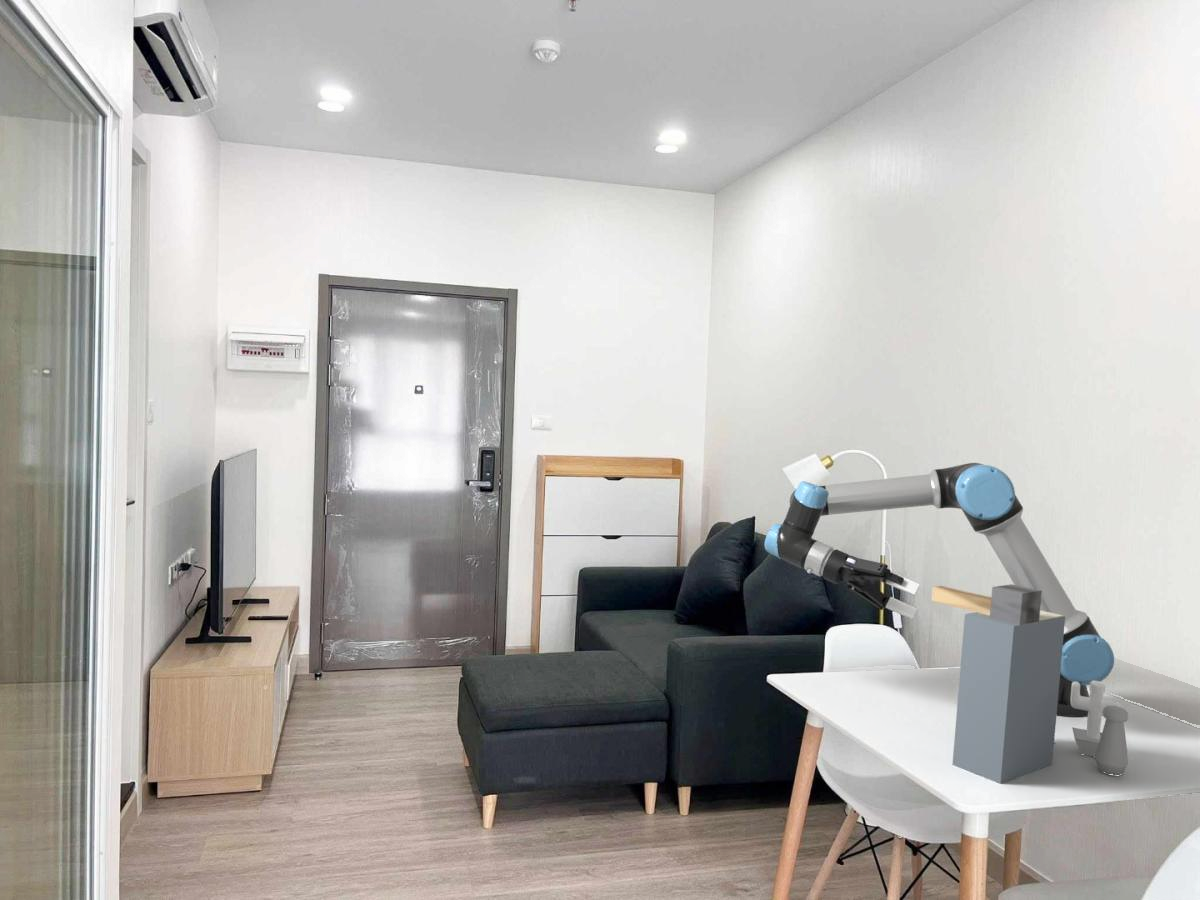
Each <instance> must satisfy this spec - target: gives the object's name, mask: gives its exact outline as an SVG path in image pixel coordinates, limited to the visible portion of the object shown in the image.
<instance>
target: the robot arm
mask: <svg viewBox="0 0 1200 900" xmlns="http://www.w3.org/2000/svg"><path fill="white" fill-rule="evenodd" d="M928 506H934V507H935V508H936V509H959V510H961V511H962V512H963V514H964V516H965V517H966V519H967V521H968V522H969V524H970V526H971V527H972V529H973V531H974V533H978V534H981V535H984V536H985V538H986V540H987V541H988V542H989V544H990V546H991V548H992V549H993V552H994V553H995V554H996V556H997V558H998V560H999V561H1000V562H1001V565H1002V567H1003V568H1004V569H1005V571H1006V573H1007V575H1008V576H1009V578H1010V579H1011V581H1012V583H1013V585H1018V586H1022V587H1027V588H1032V589H1037V590H1041V591H1042V594H1041V605H1040V610H1041V611H1045V612H1050V613H1054V614H1059V615H1063V616H1065V625H1064V637H1063V648H1062V659H1061V670H1060V681H1059V693H1058V704H1057V715H1058V716H1063V717H1085V715H1086V716H1088V711H1086V710H1081V709H1075V708H1073V707H1072V706H1071V702H1070V698H1071V686H1072V683H1073V682H1079V683H1080V696H1084V697H1089V696H1090V693H1089V691H1088V687H1087V686H1090V682H1092V681H1100V682H1102V681H1104V680H1105V679H1106V678H1107V677H1108V676H1109V675H1110V674H1111V672H1112V670H1113V668H1114V665H1115V655H1114V652H1113V649H1112V647H1111V645H1110V644H1109V642H1107V641H1106V640H1105V638H1103V637H1101V636H1100V633H1099V632H1098V631H1097V629H1096V627H1095V626H1094V624H1093V622H1092V620H1091V619H1090V617H1089V615H1088V614H1087V613H1086V612H1085V611H1081V610H1079V609H1076V608H1075V606H1074V605H1073V603H1072V601H1071V600H1070V597H1069V596H1068V595H1067V593H1066V591H1065V590H1064V588H1063V586H1062V585H1061V583H1060V581H1059V579H1058V578H1057V576H1056V574H1055V572H1054V571H1053V569H1052V567H1051V566H1050V565H1049V563H1048V561H1047V559H1046V558H1045V556H1044V554H1043V552H1042V551H1041V549H1040V547H1039V545H1038V544H1037V543H1036V541H1035V540H1034V538H1033V535H1032V534H1031V532H1030V531H1029V529H1028V527H1027V526H1026V524H1025V523H1024V521H1023V520H1022V515H1023V513H1024V506H1023V505H1022V504H1021V502H1020V500H1019V498H1018V497H1017V494H1016V491H1015V487H1014V484H1013V482H1012V480H1011V478H1010V477H1009V476H1008V474H1006V473H1005V472H1004V471H1002V470H1001V469H999V468H997V467H996V466H992V465H988V464H983V463H979V462H968V463H964V464H960V465H955V466H954V465H953V466H950V467H945V468H936V469H932V470H931V471H930V472H929V473H928V474H920V475H910V476H901V477H890V478H881V479H872V480H861V481H854V482H842V483H834V484H824V485H817V484H814V483H811V482H808V481H800V482H799V484H798V486H797V488H795V489H794V491H793V492H791V494H790V498H789V507H788V510H787V512H786V515H785V518H784V520H783V521H782V524H781V523H774V524H773V525H772V526H771V527H770V529H769V531H768V532H767V534H766V536H765V539H764V549H765V551H766V552H767V553H769V554H771V555H773V556H775V557H776V558H778V559H780V560H782V561H784V562H787V563H789V564H791V565H794V566H796V567H798V568H800V569H802V570H804V571H806V572H807V573H808V574H810V575H811V574H814V575H815V576H818V577H822V578H823V579H824V580H826V581H828V582H830V583H832V584H835V585H838V584H840V582H841V581H842V582H843V581H844V582H846V584H847V585H846V587H845V588H846V589H847V590H849V591H851V592H853V593H854V594H856V595H858V596H859V597H861V598H862V599H864V600H865V601H867V602H869V604H871V605H873V606H874V607H875V608H878V609H879V610H881V611H883V610H884V609H888V610H890V611H893V612H894V613H897V614H898V615H900V616H901V615H902V616H903V617H904V618H907V619H910V620H912V621H913V620H914V618H915V616H916V614H917V613H918V610H919V609H918V608H916V607H915V606H912V605H910V604H908V603H906V602H903V601H901V600H900V599H896V598H894V597H892V595H886V594H885V593H884V592H882V591H881V590H880V589H878V587H876V586H875V585H874V584H873V583H871V580H873V581H881V582H882V583H883V584H886V585H889V586H891V587H894V588H895V589H898V590H900V591H901V592H904V593H907V594H908V595H911V596H913V597H915V596H916V594H917V592H918V590H919V588H920V586H921V584H920V583H917V582H915V581H914V580H911V579H908V578H906V577H904V576H902V575H899V574H898V573H894V572H892V571H891V570H890V569H889V568H888V567H889V566H888V564H886V563H882V562H878V561H873V560H868V559H864V558H859V557H856V556H854V555H851V554H849V553H846V552H844V551H841V550H839V549H834V547H833V546H830V545H829V544H826V543H824V542H821V541H820V540H816V539H815V538H813V535H814V534H815V530H816V527H817V525H818V523H819V520H820V518H821V517H822V516H830V515H831V516H832V515H839V514H851V513H853V514H854V513H863V512H872V511H874V512H875V511H882V510H883V511H885V510H894V509H895V510H896V509H905V508H914V507H915V508H917V507H928ZM1057 715H1056V716H1057Z"/></svg>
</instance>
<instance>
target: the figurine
mask: <svg viewBox="0 0 1200 900" xmlns="http://www.w3.org/2000/svg"><path fill="white" fill-rule="evenodd" d="M1105 693H1106V684H1104V683H1103V682H1102V681H1101V682H1100V681H1092V682H1090V685H1089V697H1084V696H1080V683H1079V682H1073V683H1072V686H1071V698H1070V702H1071V706H1072V707H1073V708H1075V709H1081V710H1086V711H1088V715H1087V721H1086V722H1087V723H1086V729H1084V728H1083V729H1082V728H1080V727H1072V728H1071V729H1072V733H1073V737H1074V741H1075V744H1076V745H1077V747H1076V748H1077V750H1078V753H1079V755H1080V754H1084V755H1083V756H1085V755H1091V756H1095V754H1096V751H1097V748H1098V745H1099V741H1100V738H1101V735H1102V732H1101V724H1102V716H1103V710H1104V708H1105V707H1106V706H1118V707H1121V708H1122V705H1121V704H1120V702H1117V701H1114V700H1108V699H1104V694H1105ZM1091 756H1090V757H1091Z"/></svg>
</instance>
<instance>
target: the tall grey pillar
mask: <svg viewBox="0 0 1200 900" xmlns="http://www.w3.org/2000/svg"><path fill="white" fill-rule="evenodd" d="M1064 625H1065V616H1063V615H1059V614H1054V613H1050V612H1045V611H1041V610H1040V617H1039V622H1034V623H1028V624H1023V625H1017V624H1013V623H1009V622H1005V621H1001V620H997V619H993V618H990V615H986V614H982V613H978V612H974V611H973V612H969V613H964V621H963V631H962V632H963V633H962V643H961V644H962V646H961V657H960V659H961V660H960V670H959V681H958V691H957V692H958V694H957V703H956V704H957V705H956V717H955V718H956V719H955V727H954V729H955V730H954V743H953V751H952V752H953V753H952V754H953V755H952V766H955V767H958V768H961V769H963V770H965V771H968V772H970V773H973V774H974V775H978V776H980V777H983V778H986V779H988V780H990V781H992V782H996V783H998V784H1000V785H1001V784H1003V783H1005V782H1008V781H1011V780H1014V779H1016V778H1018V777H1021V776H1024V775H1027V774H1030V773H1033V772H1035V771H1038V770H1041V769H1044V768H1045V767H1049V766H1051V765H1053V760H1054V759H1053V758H1054V757H1053V755H1054V746H1055V744H1054V743H1055V738H1056V737H1055V735H1056V725H1057V724H1056V723H1057V704H1058V693H1059V681H1060V670H1061V659H1062V648H1063V637H1064Z"/></svg>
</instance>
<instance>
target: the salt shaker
mask: <svg viewBox="0 0 1200 900" xmlns="http://www.w3.org/2000/svg"><path fill="white" fill-rule="evenodd" d="M1102 716H1103V717H1104V719H1105V721H1104V725H1103V729H1102V732H1101V733H1102V735H1101V738H1100V741H1099V745H1098V748H1097V751H1096V754H1095V757H1094V761H1095V764H1096V765H1097V767H1098V769H1099V770H1100V771H1102V772H1105V773H1107V774H1113V775H1120V774H1122V773H1123V774H1124V772H1125V770H1126V769H1128V766H1129V756H1128V746H1127V737H1126V730H1125V729H1126V727H1125V723H1127V721H1128V720H1129V712H1128V711H1127V710H1126V709H1125V708H1123V707H1122V706H1121V707H1118V706H1106V707H1105V708H1104V710H1103V713H1102ZM1100 771H1099V772H1100ZM1102 772H1101V773H1102ZM1105 773H1104V774H1105ZM1107 774H1106V775H1107ZM1123 774H1122V775H1123ZM1120 776H1121V775H1120Z"/></svg>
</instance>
